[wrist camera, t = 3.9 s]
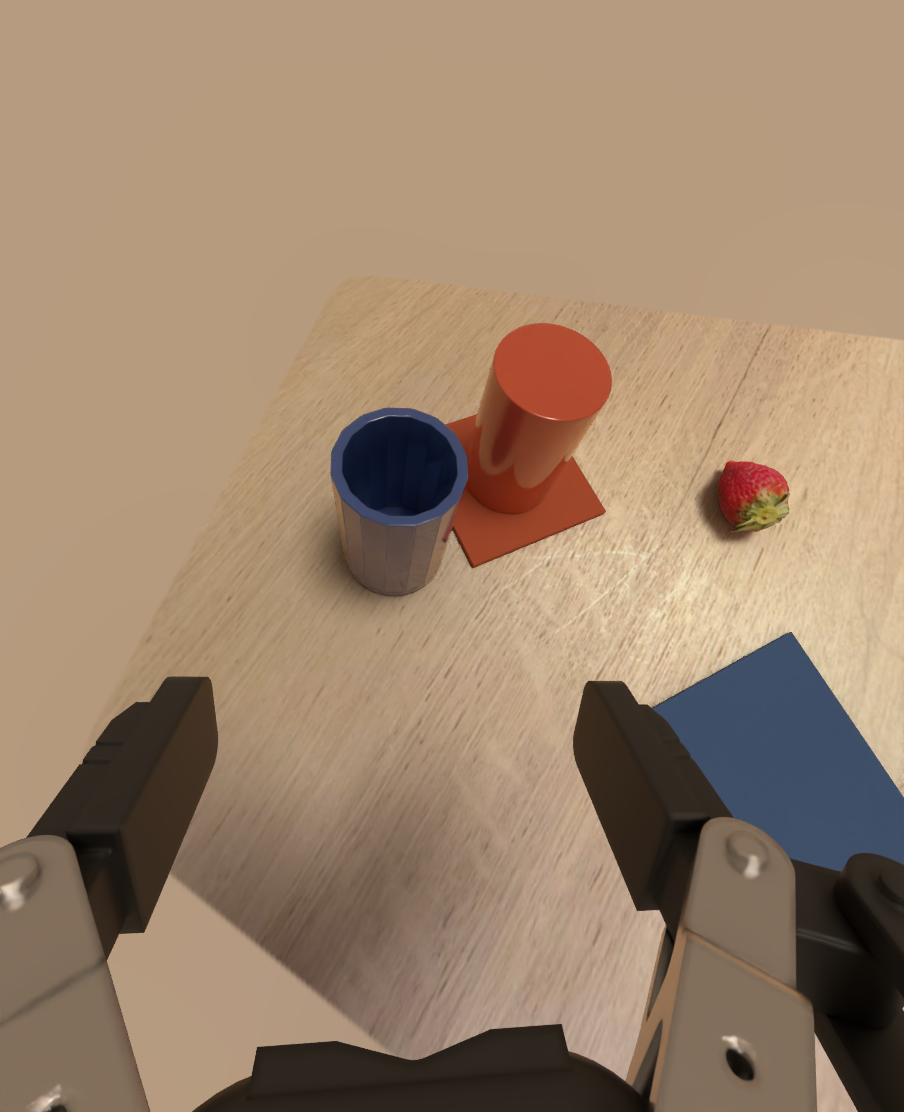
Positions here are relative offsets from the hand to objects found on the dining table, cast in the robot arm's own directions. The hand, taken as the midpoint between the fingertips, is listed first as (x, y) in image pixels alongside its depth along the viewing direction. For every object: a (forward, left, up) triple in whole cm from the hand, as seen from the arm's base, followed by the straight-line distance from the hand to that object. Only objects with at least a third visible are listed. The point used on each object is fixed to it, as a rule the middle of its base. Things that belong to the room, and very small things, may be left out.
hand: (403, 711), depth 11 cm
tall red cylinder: (+14, +12, -18) cm, 25 cm away
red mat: (+14, +12, -18) cm, 26 cm away
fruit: (+28, +4, -18) cm, 33 cm away
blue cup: (+5, +10, -18) cm, 21 cm away
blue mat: (+19, -12, -18) cm, 29 cm away
